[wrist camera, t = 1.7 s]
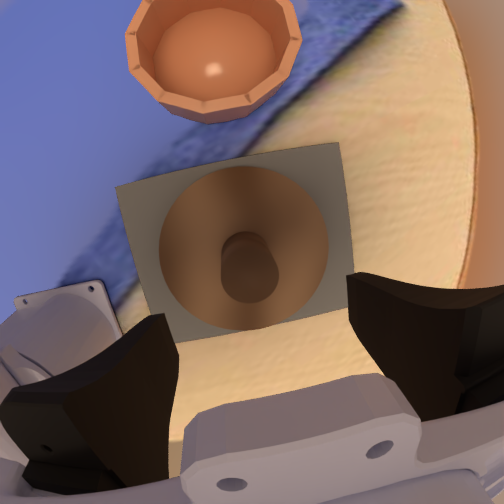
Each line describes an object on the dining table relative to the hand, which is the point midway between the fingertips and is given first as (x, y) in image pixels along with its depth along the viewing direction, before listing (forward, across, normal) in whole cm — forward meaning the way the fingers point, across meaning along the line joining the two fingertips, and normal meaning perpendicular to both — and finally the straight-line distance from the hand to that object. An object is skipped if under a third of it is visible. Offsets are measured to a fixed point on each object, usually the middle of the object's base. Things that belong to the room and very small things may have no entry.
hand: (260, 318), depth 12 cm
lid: (+10, 0, 0) cm, 10 cm away
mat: (+10, 0, 0) cm, 10 cm away
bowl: (+10, 0, -13) cm, 16 cm away
